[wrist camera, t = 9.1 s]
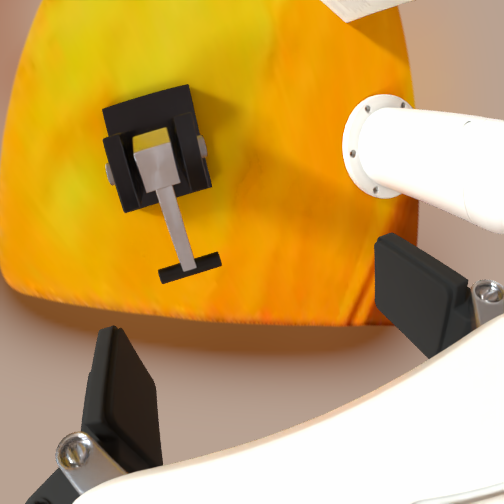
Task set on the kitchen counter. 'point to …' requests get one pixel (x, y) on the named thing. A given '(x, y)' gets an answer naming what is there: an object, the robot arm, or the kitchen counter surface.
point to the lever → (168, 201)
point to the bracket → (146, 120)
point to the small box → (360, 7)
